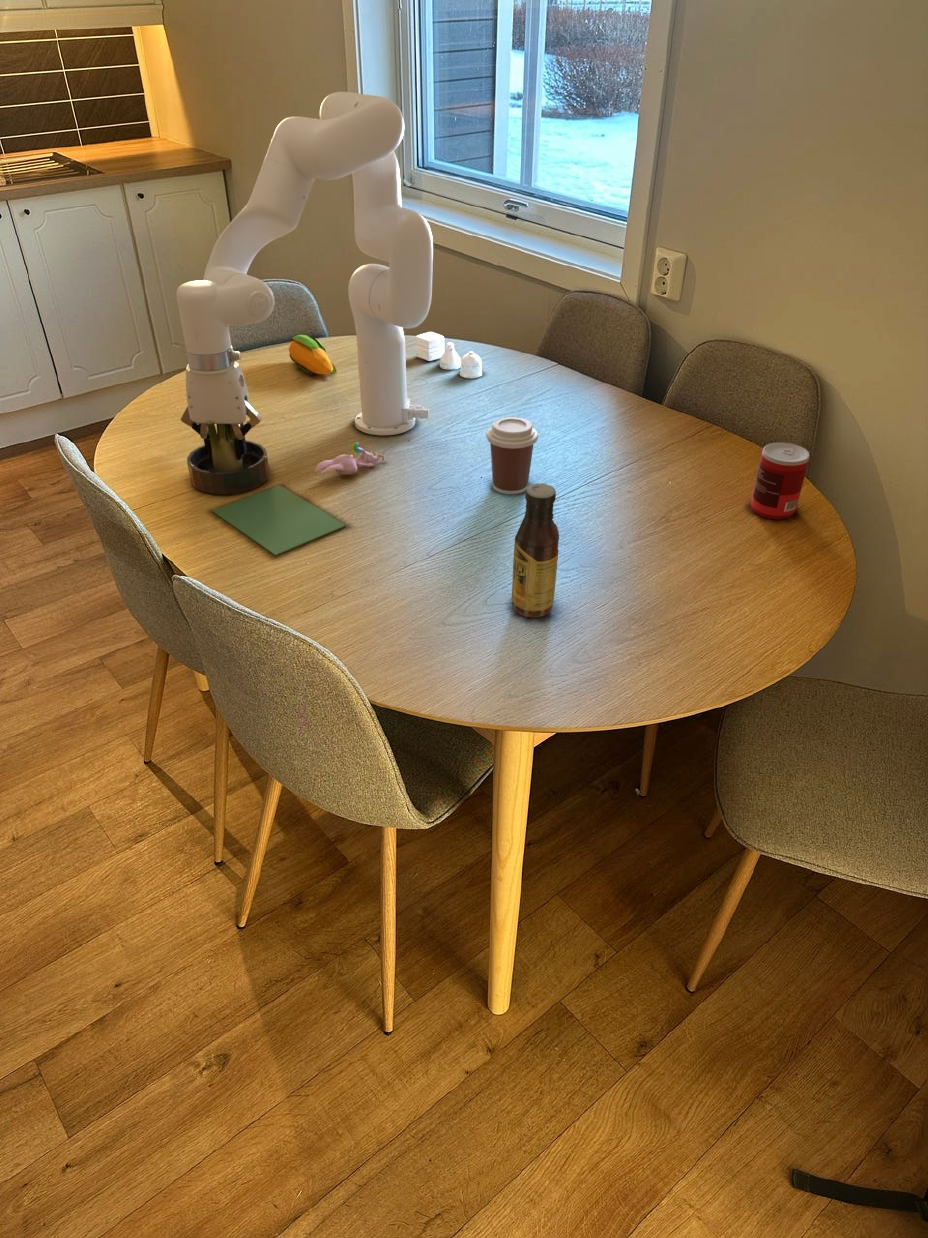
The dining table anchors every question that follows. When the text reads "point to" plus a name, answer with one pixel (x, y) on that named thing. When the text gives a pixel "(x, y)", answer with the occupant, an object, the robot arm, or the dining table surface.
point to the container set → (447, 355)
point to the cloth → (278, 520)
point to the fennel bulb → (223, 448)
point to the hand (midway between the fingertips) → (227, 455)
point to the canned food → (779, 480)
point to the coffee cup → (511, 453)
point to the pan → (229, 481)
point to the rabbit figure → (350, 461)
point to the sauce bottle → (536, 554)
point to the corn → (310, 355)
